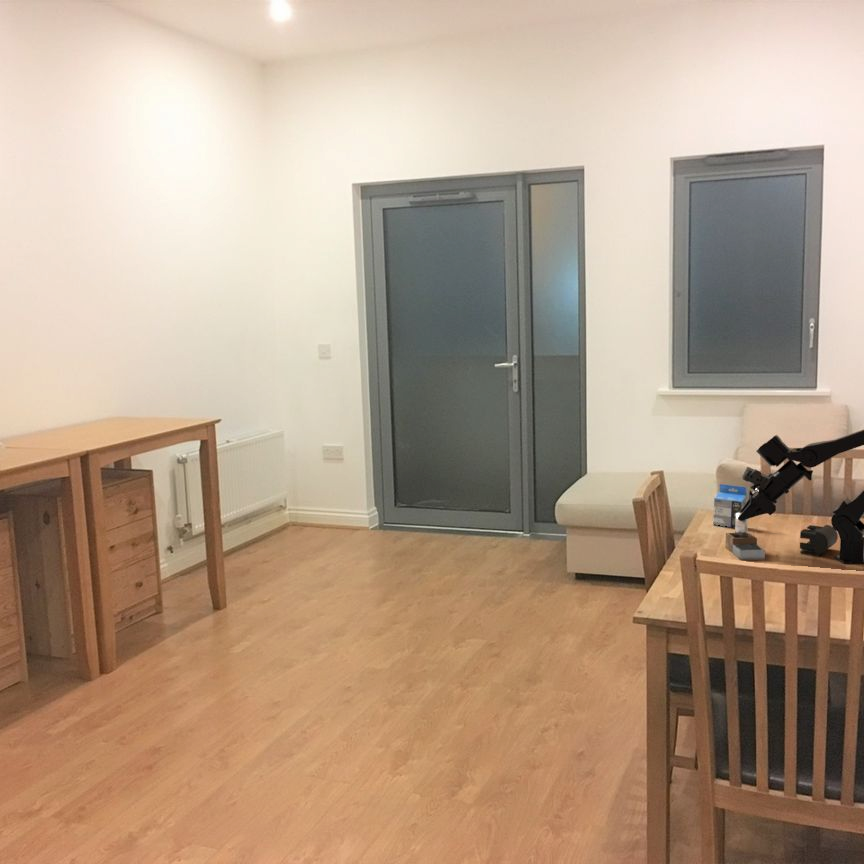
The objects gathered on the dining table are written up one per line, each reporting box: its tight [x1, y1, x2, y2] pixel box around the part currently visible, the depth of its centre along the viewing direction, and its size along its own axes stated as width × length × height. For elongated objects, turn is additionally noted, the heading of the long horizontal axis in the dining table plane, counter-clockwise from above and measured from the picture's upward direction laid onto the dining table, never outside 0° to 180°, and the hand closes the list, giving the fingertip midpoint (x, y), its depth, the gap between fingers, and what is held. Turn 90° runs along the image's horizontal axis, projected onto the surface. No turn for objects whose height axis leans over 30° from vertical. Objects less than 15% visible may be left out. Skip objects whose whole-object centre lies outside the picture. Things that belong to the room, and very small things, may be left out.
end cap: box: [799, 524, 839, 557], centre depth 246 cm, size 10×7×7 cm
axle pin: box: [734, 512, 749, 538], centre depth 248 cm, size 3×3×8 cm
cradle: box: [732, 543, 766, 561], centre depth 242 cm, size 6×6×2 cm
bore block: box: [725, 532, 758, 554], centre depth 249 cm, size 6×6×4 cm
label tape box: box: [712, 483, 748, 529], centre depth 276 cm, size 9×4×12 cm, turn 48°
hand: (738, 518), depth 248 cm, fingers closed on axle pin, 3 cm apart
